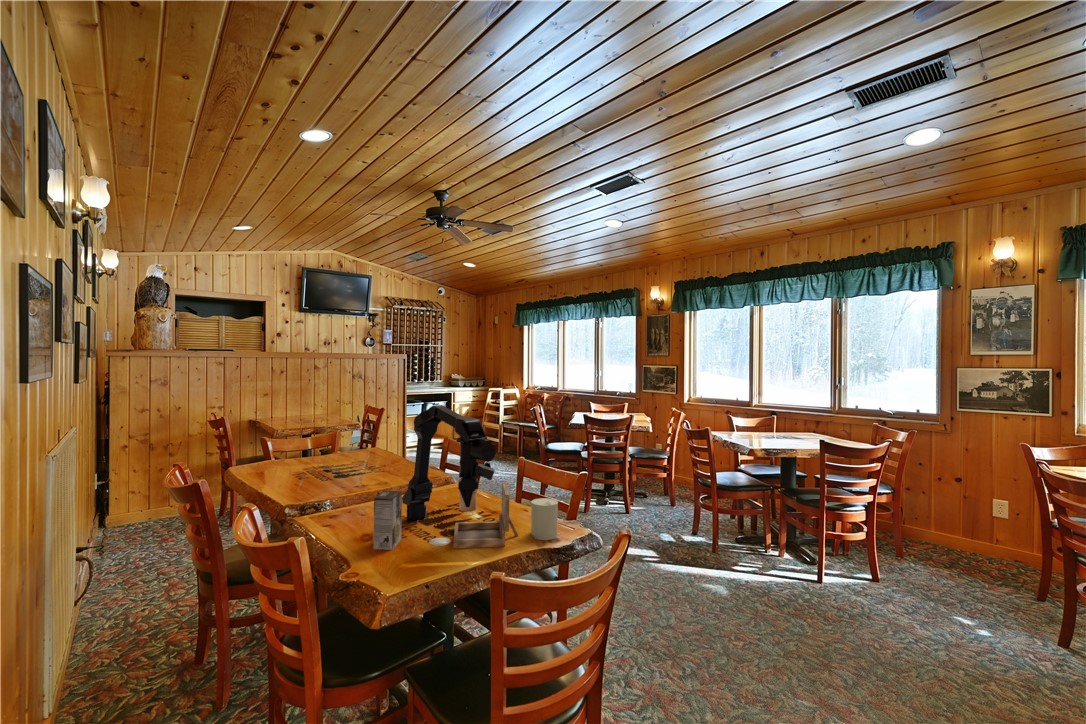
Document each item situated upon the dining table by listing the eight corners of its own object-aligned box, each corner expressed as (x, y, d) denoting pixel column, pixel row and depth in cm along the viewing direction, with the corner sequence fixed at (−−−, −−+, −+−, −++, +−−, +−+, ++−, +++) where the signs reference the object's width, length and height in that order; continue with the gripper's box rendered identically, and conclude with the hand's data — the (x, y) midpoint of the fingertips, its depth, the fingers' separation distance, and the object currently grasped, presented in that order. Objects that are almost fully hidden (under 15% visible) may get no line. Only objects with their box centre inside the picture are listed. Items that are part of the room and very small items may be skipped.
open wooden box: (453, 552, 159) (454, 496, 159) (455, 531, 178) (456, 481, 178) (522, 549, 162) (522, 494, 162) (516, 529, 181) (517, 480, 181)
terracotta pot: (458, 512, 165) (458, 490, 165) (458, 506, 171) (459, 485, 171) (477, 511, 166) (477, 490, 166) (476, 506, 172) (477, 485, 172)
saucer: (427, 548, 161) (427, 545, 161) (429, 540, 168) (429, 538, 168) (450, 547, 162) (450, 545, 162) (451, 539, 169) (451, 537, 169)
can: (539, 542, 168) (540, 505, 168) (525, 533, 176) (526, 498, 176) (563, 537, 173) (563, 501, 173) (548, 529, 181) (548, 495, 181)
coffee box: (382, 539, 168) (383, 490, 168) (401, 540, 168) (402, 490, 168) (372, 549, 159) (373, 497, 159) (392, 550, 159) (393, 498, 159)
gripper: (494, 462, 161) (493, 512, 161) (492, 451, 179) (491, 496, 179) (458, 462, 159) (457, 513, 159) (459, 451, 177) (458, 497, 177)
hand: (467, 504), depth 169 cm, fingers closed on terracotta pot, 5 cm apart
